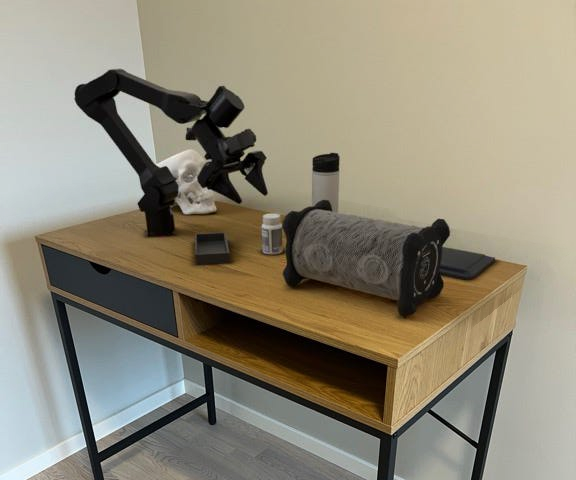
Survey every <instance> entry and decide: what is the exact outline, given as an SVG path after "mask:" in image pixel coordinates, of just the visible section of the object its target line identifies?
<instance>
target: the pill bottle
mask: <svg viewBox="0 0 576 480" xmlns="http://www.w3.org/2000/svg"><path fill="white" fill-rule="evenodd" d="M283 241H284V239H283V228H282V223H281V215H280V214H279V213H275V212H273V213H271V212H270V213H266V214H263V215H262V224H261V244H262V245H261V247H262V248H261V249H262V253H263V254H266V255H279V254H281V253H283V251H284V247H283V245H284V243H283Z"/></svg>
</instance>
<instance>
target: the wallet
mask: <svg viewBox="0 0 576 480" xmlns="http://www.w3.org/2000/svg"><path fill="white" fill-rule="evenodd" d="M495 261H496V257H495V256H489V255H486V254H484V253H478V252H473V251H468V250H463V249H456V248H451V247H445V246H442V259H441V265H440V275H441V276H444V277H445V276H446V277H450V278H454V279H459V280H465V281H467V280H473V279H474V278H475V277H477V276H478V275H479V274H480V273H481V272H483V271H484V270H485V269H486V268H488V267H489V266H490V265H491V264H493V263H494V262H495Z"/></svg>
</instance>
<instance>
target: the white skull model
mask: <svg viewBox="0 0 576 480" xmlns="http://www.w3.org/2000/svg"><path fill="white" fill-rule="evenodd" d="M205 163H206V161H205V159H204V158H203V157H202V156H201V154H200V153H199V152H198V151H197V150H195V149H193V148H190V149H189V148H188V149H185V150H184V151H183V150H182V151H181V152H179V153H177V154H174V155H172V156H170V157H168V158H165V159H164V160H162V161H160V162H158V163H155V165H157V166H158V167H160V168H161V167H164V166H167V167H168V168H169V170H170V172H171V174H172V175H173V176H174V177H175V178H177V180H175V181H176V182H177V184H178V186H179V189H178V196H177V197H176V198H175V202H174V205H172V206H170V209H172V208H174V207H177V206H179V207H180V209H181V211H182V213H183V214H184V215H186V216H187V215H207V214H211V213H214V212H216V211H217V206H216V203H215V194H214V191H213V190H208V189H207V187H206V188H202V187H201V186H200V184H199V183H198V180H197V175H198V174H199V172H200V171H201V169H202V168H203V166H204V165H205ZM191 202H192V203H191Z"/></svg>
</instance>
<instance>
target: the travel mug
mask: <svg viewBox="0 0 576 480" xmlns="http://www.w3.org/2000/svg"><path fill="white" fill-rule="evenodd" d="M340 161H341V160H340V155H339V153H338V152H330V153H323V154H318V155H315V156H314V157H312V168H311V172H312V174H311V206H315V204H316V203H318V202H319V201H321V200H329V202H330V204H331V206H332V211H333V212H336V213H339V197H340V195H339V193H340Z"/></svg>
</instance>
